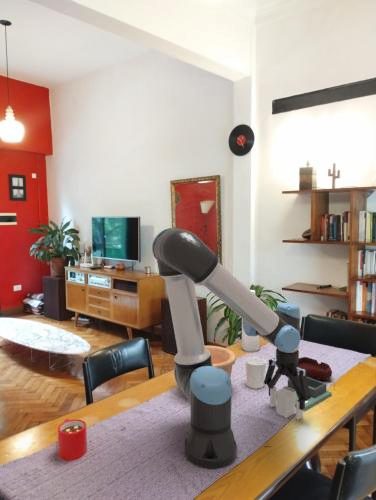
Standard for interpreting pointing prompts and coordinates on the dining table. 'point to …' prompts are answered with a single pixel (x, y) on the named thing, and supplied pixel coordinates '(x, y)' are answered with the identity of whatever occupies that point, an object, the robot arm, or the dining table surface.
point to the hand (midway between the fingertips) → (285, 411)
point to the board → (313, 392)
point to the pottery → (222, 358)
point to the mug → (72, 439)
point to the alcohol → (250, 339)
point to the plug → (286, 401)
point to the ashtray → (315, 368)
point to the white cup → (255, 372)
